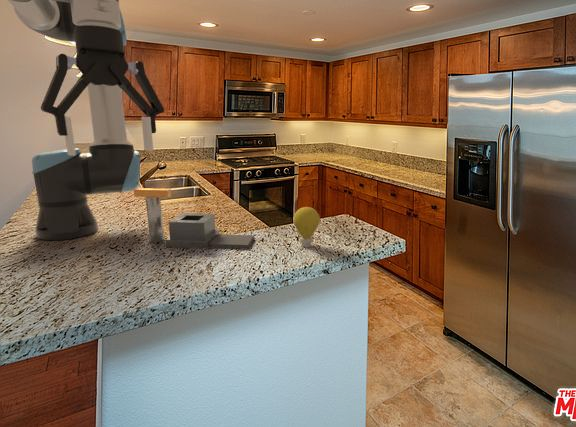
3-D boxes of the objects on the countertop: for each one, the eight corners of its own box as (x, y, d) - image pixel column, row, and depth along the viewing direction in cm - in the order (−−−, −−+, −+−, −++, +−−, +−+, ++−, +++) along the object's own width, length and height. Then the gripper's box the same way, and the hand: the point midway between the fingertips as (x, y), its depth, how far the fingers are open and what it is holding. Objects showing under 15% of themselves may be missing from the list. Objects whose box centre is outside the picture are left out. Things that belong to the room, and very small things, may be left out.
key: (137, 241, 96) (131, 190, 93) (144, 237, 100) (138, 187, 96) (170, 242, 95) (166, 190, 92) (175, 238, 99) (171, 188, 95)
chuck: (166, 247, 92) (163, 222, 90) (181, 235, 102) (179, 212, 100) (208, 248, 91) (207, 223, 89) (219, 236, 101) (218, 213, 99)
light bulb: (303, 251, 89) (303, 211, 86) (288, 244, 94) (288, 206, 92) (324, 246, 92) (325, 208, 90) (309, 239, 98) (309, 203, 95)
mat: (208, 247, 92) (208, 243, 91) (217, 237, 99) (217, 234, 99) (248, 248, 91) (247, 245, 90) (254, 238, 98) (254, 235, 98)
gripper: (11, 10, 52) (36, 159, 58) (176, 35, 68) (183, 150, 74) (6, 20, 58) (29, 155, 63) (160, 41, 74) (168, 147, 79)
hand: (112, 152), depth 69 cm, fingers open, 13 cm apart
